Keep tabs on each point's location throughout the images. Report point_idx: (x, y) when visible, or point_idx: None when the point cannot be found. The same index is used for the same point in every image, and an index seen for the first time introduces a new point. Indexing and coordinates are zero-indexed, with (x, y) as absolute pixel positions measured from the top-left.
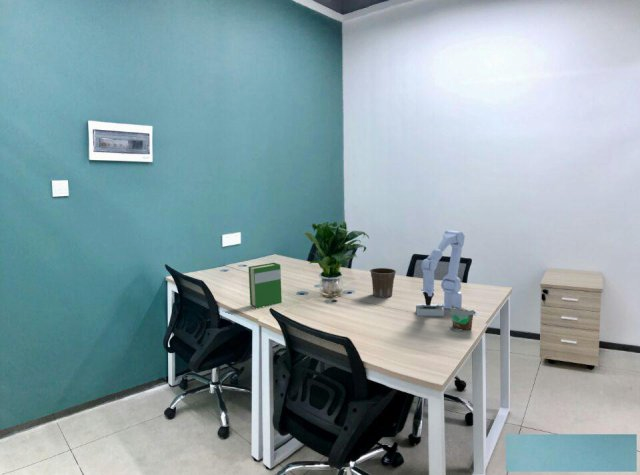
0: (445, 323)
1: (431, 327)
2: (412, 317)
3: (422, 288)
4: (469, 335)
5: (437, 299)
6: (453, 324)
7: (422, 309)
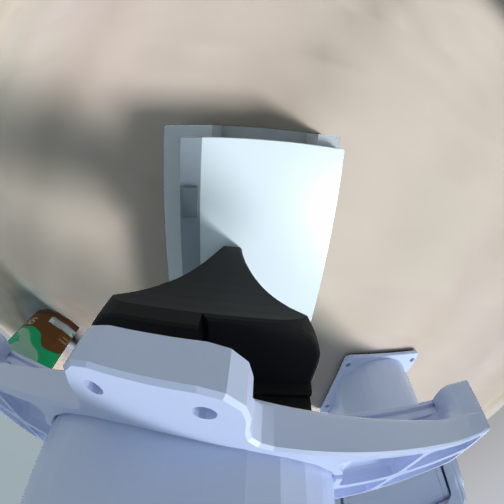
0: (72, 292)
1: (10, 206)
2: (145, 81)
3: (239, 439)
4: (10, 326)
5: (483, 331)
6: (35, 317)
7: (172, 181)
